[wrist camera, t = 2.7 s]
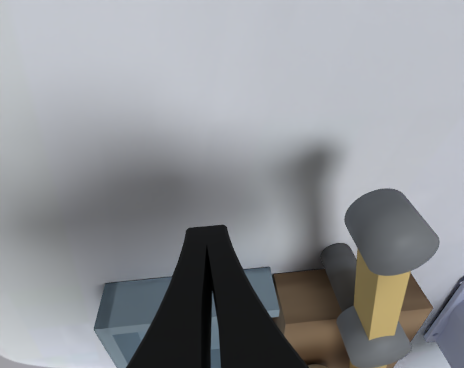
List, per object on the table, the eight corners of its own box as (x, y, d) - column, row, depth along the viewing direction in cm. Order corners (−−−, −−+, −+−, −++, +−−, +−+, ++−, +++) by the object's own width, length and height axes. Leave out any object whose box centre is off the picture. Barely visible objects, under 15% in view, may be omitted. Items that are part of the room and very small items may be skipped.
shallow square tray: (264, 344, 27) (271, 382, 25) (141, 358, 27) (135, 399, 24) (269, 267, 21) (279, 309, 18) (105, 283, 20) (93, 329, 18)
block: (368, 332, 28) (390, 382, 25) (267, 343, 27) (277, 396, 24) (414, 236, 20) (455, 291, 17) (275, 249, 20) (291, 309, 16)
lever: (375, 382, 23) (389, 414, 22) (336, 389, 24) (346, 421, 22) (419, 180, 11) (456, 219, 10) (336, 198, 11) (359, 240, 10)
